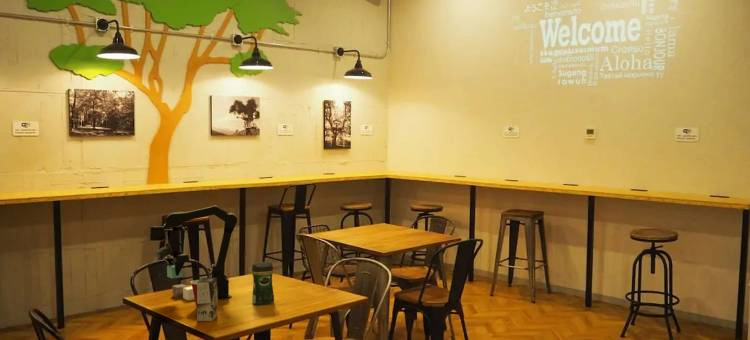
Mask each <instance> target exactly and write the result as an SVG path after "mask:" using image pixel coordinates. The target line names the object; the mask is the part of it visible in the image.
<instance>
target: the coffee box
mask: <svg viewBox="0 0 750 340" xmlns="http://www.w3.org/2000/svg"><path fill="white" fill-rule="evenodd" d="M198 280H199V281H198V282H197V308H196V309H197V312H196V313H197V319H196V320H197V322H198V321H199V322H213V320H215V318H216V317H218V314H219V313H218V311H219V310H218V309H219V308H218V299H217V278H212V277H202V278H201V279H198Z"/></svg>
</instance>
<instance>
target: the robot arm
mask: <svg viewBox="0 0 750 340" xmlns="http://www.w3.org/2000/svg"><path fill="white" fill-rule="evenodd" d="M210 216H216V217H217V218H218V219H220V220H222V221H223V229H222V230H223V232H222V236H221V241H220V245H219V251H218V254H217V257H216V262H215V263H212V264H211V269H210V270H209V275H210V276H211V277H210V278H217V300H223V299H229V298H232V297H233V296H232V295H230V291H229V290H230V288H229V286H230V285H229V284H230V280H229V277H228V276H227V275H226V274H225V273H226V272H225V271H226V267H225V265H226V259H227V256H228V250H229V247H230V242H231V237H232V234H233V232H234V230H235V227H236V225H237V223H238V218H237V216H236V215H235V213H234V212H228V211H226V210H224V209H222V208H221V207H219V206H218V205H216V204H215V205H211V206H208V207H203V208H199V209H194V210H190V211H175V212H170V213H169V214H168V215H167V218H166V222H165V223H163V225H162V226H161V225H160V226H159V225H158V226H154V225H153V226H152V225H151V226H150V234H149V239H150V240H149V241H150V242H164V240H166V239H167V242H165V244H164V245H165V246H162V247H161V248H159V249H157V250H155V251H154V254H155V256H156V258H157V259H159V260H162V259H163V260H164V261H166V263H167V266H169V265H174V266H175V273H176V276H178V275H179V273H180V271H181V269H182V270H183V267H184V265H185V263H186V262H190V255H188V254H186V253H183V250H182V246H183V242H181V240H182V239H181V238H182V237H181V236H182V235H181V231H183V232H184V231H185V227H184V226H182V224H184V223H185V222H188V221H191V220H197V219H200V218H205V217H210Z"/></svg>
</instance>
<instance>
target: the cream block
mask: <svg viewBox="0 0 750 340" xmlns="http://www.w3.org/2000/svg"><path fill="white" fill-rule="evenodd" d="M182 299H184V300H187V301H192V300H195V299H194V293H193V289H192V285H191V286H187V287H185V288H183V297H182Z"/></svg>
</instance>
